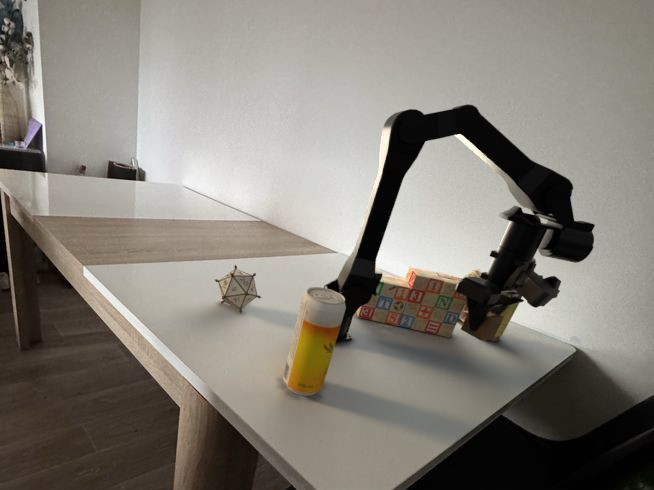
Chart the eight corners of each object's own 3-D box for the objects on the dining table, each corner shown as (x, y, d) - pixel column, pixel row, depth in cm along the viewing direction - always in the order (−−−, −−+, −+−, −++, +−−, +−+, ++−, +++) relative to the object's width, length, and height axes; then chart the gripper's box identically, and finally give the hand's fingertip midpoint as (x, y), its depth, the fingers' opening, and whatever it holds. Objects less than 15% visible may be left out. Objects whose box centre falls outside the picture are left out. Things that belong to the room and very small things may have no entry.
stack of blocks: (357, 318, 87) (373, 265, 81) (354, 307, 92) (369, 257, 87) (451, 337, 87) (473, 286, 82) (442, 325, 93) (463, 277, 87)
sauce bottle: (468, 327, 95) (504, 248, 86) (494, 334, 94) (533, 255, 86) (475, 338, 89) (514, 255, 81) (503, 346, 89) (546, 263, 80)
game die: (241, 322, 82) (277, 293, 79) (219, 320, 74) (257, 288, 71) (221, 289, 85) (255, 259, 81) (197, 283, 77) (233, 251, 74)
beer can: (327, 397, 58) (355, 305, 51) (289, 398, 56) (313, 303, 49) (313, 373, 63) (336, 287, 56) (277, 373, 61) (297, 284, 54)
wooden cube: (460, 329, 75) (469, 308, 73) (472, 326, 78) (482, 306, 76) (481, 340, 72) (492, 319, 70) (493, 337, 75) (504, 316, 73)
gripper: (540, 268, 57) (494, 359, 64) (586, 266, 68) (543, 343, 74) (472, 244, 65) (437, 326, 71) (523, 245, 75) (488, 317, 82)
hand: (479, 329), depth 75 cm, fingers closed on wooden cube, 4 cm apart
